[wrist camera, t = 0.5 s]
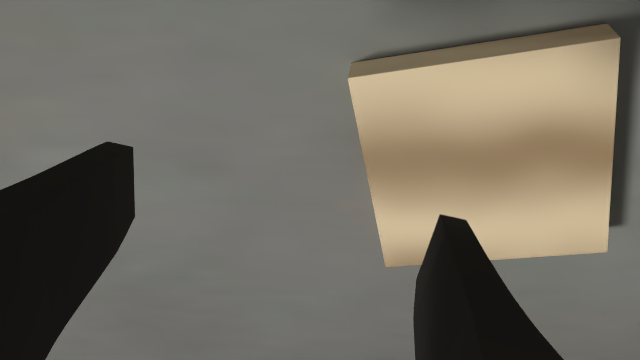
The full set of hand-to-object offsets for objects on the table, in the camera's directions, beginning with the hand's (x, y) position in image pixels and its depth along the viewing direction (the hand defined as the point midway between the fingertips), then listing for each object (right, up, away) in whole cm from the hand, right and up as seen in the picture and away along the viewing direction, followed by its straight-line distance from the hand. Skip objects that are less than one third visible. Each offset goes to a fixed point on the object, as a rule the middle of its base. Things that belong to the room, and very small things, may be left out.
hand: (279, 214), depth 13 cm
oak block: (+7, +2, +10) cm, 13 cm away
